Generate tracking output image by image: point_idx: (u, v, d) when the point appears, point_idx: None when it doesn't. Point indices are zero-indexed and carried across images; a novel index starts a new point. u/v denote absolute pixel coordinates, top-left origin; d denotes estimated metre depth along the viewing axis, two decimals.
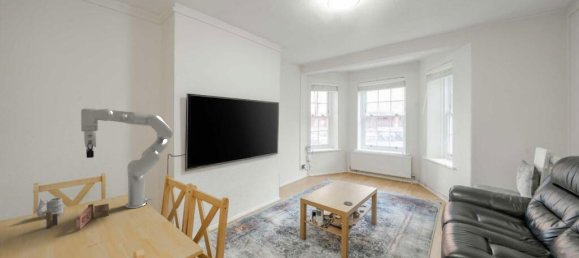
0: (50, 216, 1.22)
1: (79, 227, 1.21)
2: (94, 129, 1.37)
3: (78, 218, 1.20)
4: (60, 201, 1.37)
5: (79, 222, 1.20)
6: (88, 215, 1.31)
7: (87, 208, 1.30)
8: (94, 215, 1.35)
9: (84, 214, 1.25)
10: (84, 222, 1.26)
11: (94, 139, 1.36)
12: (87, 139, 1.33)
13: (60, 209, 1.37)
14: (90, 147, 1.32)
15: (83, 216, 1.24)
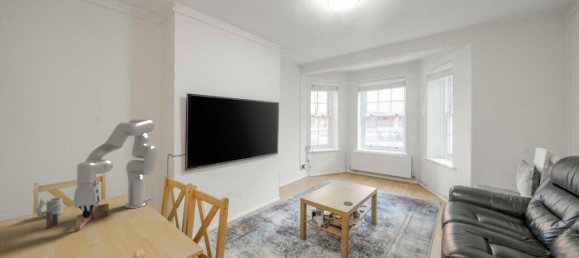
0: (50, 216, 1.22)
1: (79, 227, 1.21)
2: None
3: (78, 218, 1.20)
4: (60, 201, 1.37)
5: (79, 222, 1.20)
6: None
7: None
8: (94, 215, 1.35)
9: None
10: (84, 222, 1.26)
11: (99, 194, 1.27)
12: (96, 195, 1.24)
13: (60, 209, 1.37)
14: None
15: (83, 216, 1.24)
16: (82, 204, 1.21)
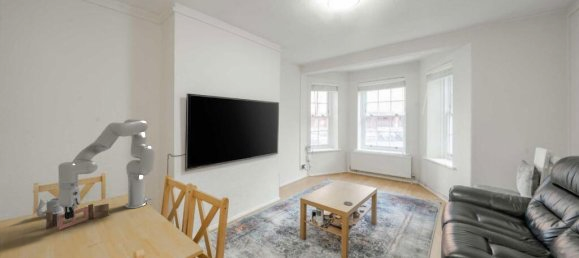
0: (50, 216, 1.22)
1: (58, 227, 1.20)
2: (77, 185, 1.22)
3: (58, 218, 1.20)
4: None
5: (58, 222, 1.20)
6: (84, 215, 1.31)
7: (82, 208, 1.30)
8: (94, 215, 1.35)
9: None
10: (71, 222, 1.25)
11: (79, 196, 1.22)
12: (72, 198, 1.19)
13: (60, 209, 1.37)
14: (74, 208, 1.21)
15: None
16: (63, 204, 1.20)
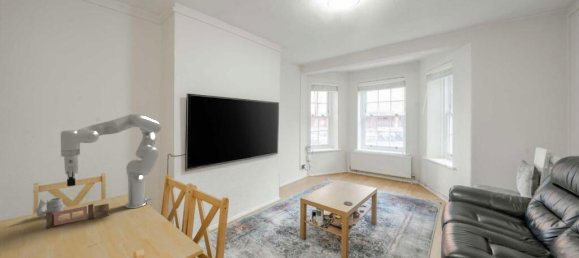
0: (50, 216, 1.22)
1: (54, 223, 1.24)
2: (75, 153, 1.22)
3: None
4: (60, 201, 1.37)
5: (54, 218, 1.24)
6: (83, 214, 1.32)
7: (81, 207, 1.31)
8: (94, 215, 1.35)
9: (66, 212, 1.27)
10: (67, 220, 1.27)
11: (75, 165, 1.21)
12: (67, 165, 1.19)
13: (60, 209, 1.37)
14: (71, 177, 1.21)
15: None
16: None
